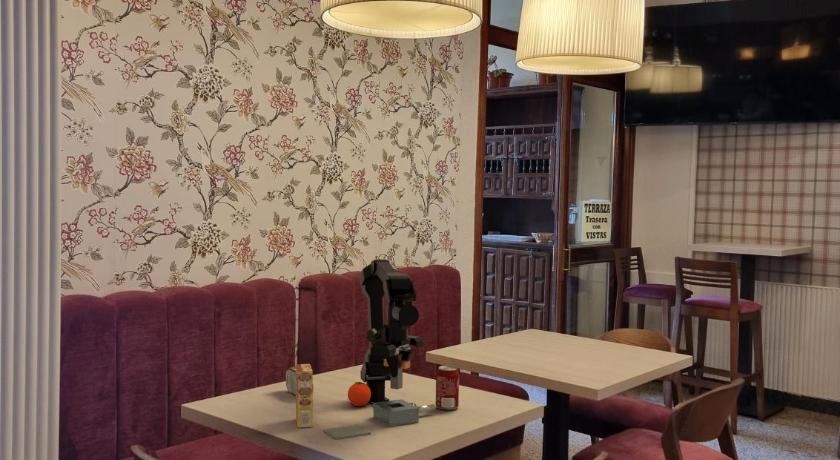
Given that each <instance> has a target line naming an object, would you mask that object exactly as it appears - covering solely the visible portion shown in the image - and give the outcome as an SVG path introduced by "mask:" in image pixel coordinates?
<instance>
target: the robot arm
mask: <svg viewBox="0 0 840 460" xmlns="http://www.w3.org/2000/svg"><path fill="white" fill-rule="evenodd" d="M358 281H359V285H360V287H361V288H360V289H361V292H362V294H363V296H364V297H365V298H366V299H367V300H366V301H367V322H368V324H367V325H368V330H366V335H365V336H366V341H367V342H368V345H369V346H368V349H367V351H366V353H365V355H364V361H363V363H362V366H361V368H360V372H359V373H360V380H361V382H362V383H365V384H366V385H368V387H369V388H370V390H371V398H370V400H369V402H368V403H369V404H374V403H377V402H385V401H390V398H388V397H386V382H387V381H389V382H391V376H392V377H393V378H396V376H397V373H398V369H399V365H400V362H401V360H407V361H410V359H411V357H412V354H413V353H414V352H415V349H411V346H414V347H415V348H417V349H419V348H422V347H423V346H424V345H423V344H424V341H423V338H422V337H421V336H417V335H411V334H409V332H408V329H411V327H412V326H414V325H416V324H417V322H418V320H419V319H420V313H419V310H418V309H417V307H416V306H414V305H413V302H416V301H417V296H418V295H417V291H416V287H415V283H414V282H413V280H412V278H411V277H410V275H409V274H407V273H403V272H402V273H401V272H398V271H397V270H396V269H395V267H393V266H392V265H391V264H390V260H388V259H373V260H372V261H371V263H370V264H368V265H367V266H365V267H362V270H361V272H360V274H359V280H358ZM384 296H385V298H386V302H387V306H386V307H387V308H386V309H387V311H386V312H387V313H386V314H387V315H386V323H384V307H383V305H384V304H383V299H384ZM384 359H386V361H387V363H388V366H389V367H388V366H384ZM404 371H405V369H403V372H404Z"/></svg>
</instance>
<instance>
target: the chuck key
mask: <svg viewBox="0 0 840 460" xmlns="http://www.w3.org/2000/svg"><path fill="white" fill-rule="evenodd" d="M384 366H388V363H387V361H386V359H384ZM388 367H389V366H388ZM409 368H411V360H409V361H407V360H401V362H400V365H399V369H398V373H397V376H396V378H393V377H392V376H391V381H390V385H389V386H390V389H392V390H400V389H403V373H404V371H403V369H404V370H406V369H409Z"/></svg>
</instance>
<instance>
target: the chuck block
mask: <svg viewBox="0 0 840 460" xmlns="http://www.w3.org/2000/svg"><path fill="white" fill-rule="evenodd" d="M435 410H436V404H434V403H433V404H425V405H418V406H417V404H416V403H415V402H411V403H410V402H408V401H406V400H404V399H395V400H389V401H385V402H377V403H373V410H372V412H373V418H374V419H376V420H378V421H380V422H381V423H383V424H385V425H386V426H388V427H395V426H402V425H409V424H416V423H419V422H420V415H419V414H420V413H427V412H433V411H435Z"/></svg>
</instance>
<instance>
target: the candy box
mask: <svg viewBox="0 0 840 460" xmlns="http://www.w3.org/2000/svg"><path fill="white" fill-rule="evenodd" d="M295 366H296V396H295V419H296V424H297V428H312V427H313V426H314V425H313V423H314V419H313V417H314V416H313V415H314V409H313V408H314V405H313V404H314V403H313V402H314V396H313V395H314V379H313V378H314V377H313V376H314V373H313V367H312V366H311V364H310V363H303V364H302V363H301V364H300V363H299V364H298V363H297V364H295Z"/></svg>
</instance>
